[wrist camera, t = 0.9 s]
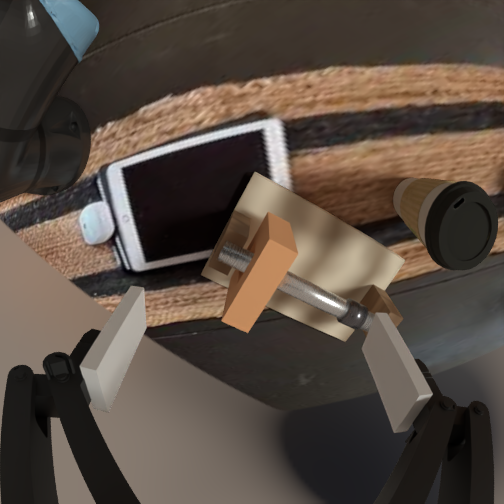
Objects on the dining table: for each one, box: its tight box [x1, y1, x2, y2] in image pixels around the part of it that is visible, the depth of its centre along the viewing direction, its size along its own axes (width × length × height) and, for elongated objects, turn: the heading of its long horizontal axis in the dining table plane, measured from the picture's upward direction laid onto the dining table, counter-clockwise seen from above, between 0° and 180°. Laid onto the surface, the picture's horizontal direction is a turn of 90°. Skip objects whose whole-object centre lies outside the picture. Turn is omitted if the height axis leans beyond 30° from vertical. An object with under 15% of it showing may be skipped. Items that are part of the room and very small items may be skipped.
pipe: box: [217, 241, 395, 332], centre depth 36 cm, size 24×3×3 cm, turn 62°
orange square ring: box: [222, 212, 298, 333], centre depth 34 cm, size 3×10×10 cm, turn 152°
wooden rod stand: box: [201, 172, 405, 341], centre depth 40 cm, size 25×16×9 cm, turn 62°
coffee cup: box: [393, 178, 498, 270], centre depth 33 cm, size 10×10×15 cm
